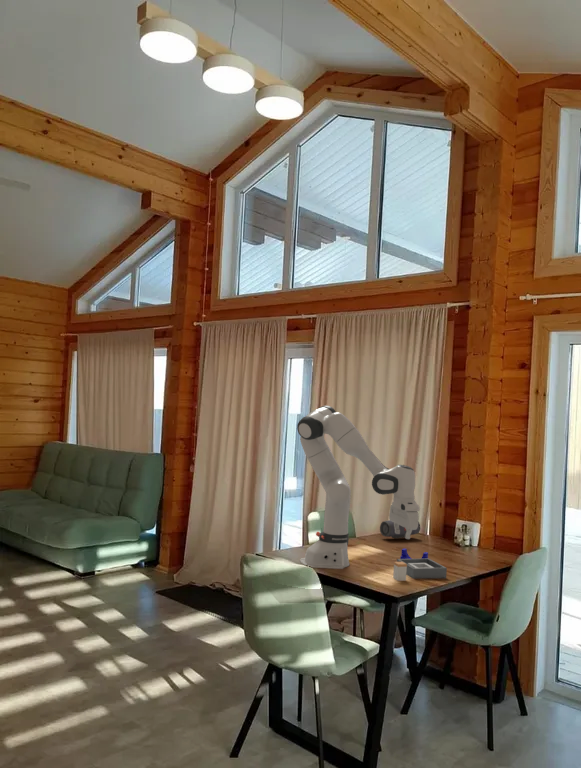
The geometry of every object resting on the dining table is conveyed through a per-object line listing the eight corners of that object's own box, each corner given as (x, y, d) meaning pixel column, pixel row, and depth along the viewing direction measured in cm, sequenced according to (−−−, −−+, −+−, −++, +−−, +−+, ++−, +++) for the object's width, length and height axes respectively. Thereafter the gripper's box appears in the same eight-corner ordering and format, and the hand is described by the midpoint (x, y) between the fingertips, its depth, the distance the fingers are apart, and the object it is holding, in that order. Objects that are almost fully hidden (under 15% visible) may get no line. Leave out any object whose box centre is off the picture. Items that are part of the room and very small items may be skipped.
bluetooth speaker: (389, 540, 355) (390, 522, 355) (378, 536, 363) (379, 518, 363) (420, 537, 367) (421, 519, 367) (409, 534, 375) (410, 516, 375)
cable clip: (400, 562, 310) (400, 550, 310) (403, 560, 314) (403, 548, 314) (424, 567, 304) (425, 554, 304) (427, 565, 308) (428, 552, 308)
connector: (397, 583, 275) (398, 564, 275) (393, 580, 278) (394, 561, 278) (405, 583, 276) (406, 564, 276) (401, 580, 280) (402, 561, 280)
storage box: (413, 580, 280) (413, 568, 280) (396, 570, 295) (397, 559, 295) (446, 579, 285) (446, 568, 285) (428, 569, 300) (428, 558, 300)
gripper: (386, 499, 286) (385, 530, 286) (407, 508, 267) (406, 541, 267) (399, 499, 288) (398, 530, 288) (421, 507, 269) (420, 541, 268)
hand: (402, 536), depth 277 cm, fingers open, 8 cm apart
